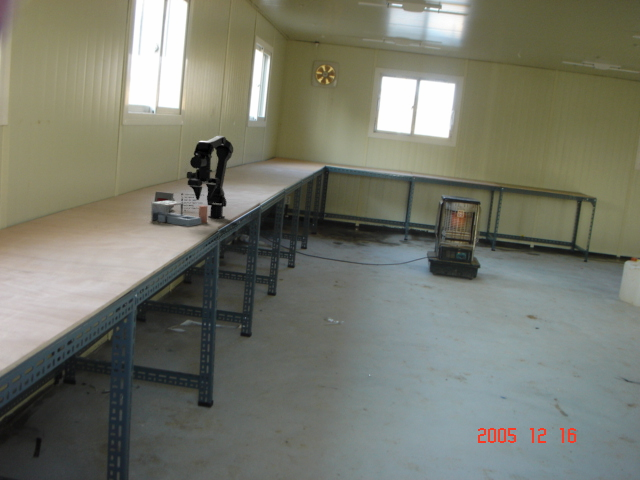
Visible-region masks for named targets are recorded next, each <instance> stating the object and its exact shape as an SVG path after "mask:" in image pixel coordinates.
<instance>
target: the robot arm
mask: <svg viewBox="0 0 640 480" xmlns="http://www.w3.org/2000/svg"><path fill="white" fill-rule="evenodd" d="M214 151H215V154H216V157H217V164H216V168H215V174H214V177H213V176H212V177H211V173H213V169H211V167H212V166H211V164H212V158H213V152H214ZM233 153H234V147H233V144H232V143H231V141H229V140H227V138H226V136H224V135H214V137H213V138H210V139H208V140H199V141H197V143H196V146H195V149H194V152H193V157H191V159H190V160H189V163H190V166H191V168H193V169H196V170H195V172H193V171H187V172H186V179H188V180H187V186H189V187H190V188H191V189H192V190H193V194H195V195H194V197H195V200H196V201H200V197H201V195H202V190H203V186H202V185H204V184H205V186H206V187H207V195H206V201H207V202H206V203H207V206H210V214H209V215H207V218H212V219H223V218H226V216H224V215H223V214H224V212H223V211H224V210H223V209H224V207H225V208H226V207H227V199H226V197H225V191H224V189H223V187H224V181H225V177H226V176H225V174H226V171H227V165H228V161H229V160H230V159H231V158H232V155H233Z"/></svg>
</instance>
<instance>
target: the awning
mask: <svg viewBox="0 0 640 480" xmlns="http://www.w3.org/2000/svg"><path fill="white" fill-rule="evenodd" d="M182 202H183V201H176V200H175V201H169V200H167V201H159V202H154V201H152V202H151V206H150V208H151V210H150V220H151V221H158V215H162V214H165V222H164V224H168V223H167V214H168V213H170V211H169V206H174V207H175V206H180V214H182V215H184V214H183V212H184V202H183V203H182Z"/></svg>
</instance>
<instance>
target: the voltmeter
mask: <svg viewBox="0 0 640 480" xmlns="http://www.w3.org/2000/svg"><path fill="white" fill-rule="evenodd" d="M180 194H181V201H180V202H182V203H183V212H186V211H187V209H188V210H189V207H192V210H195V209H197V210H198V207H196V208H195V207H193V205H196V202H195V201H197V199H195V193H193V194H192V193H190V194H188V193H186V196H187V198H186V199H185V198H184V197H183V196H184V193H180ZM174 196H175V195H174V192H165V191H155V195H154V201H153V202H159V201H167V200H169V201H176V200H175V197H174ZM202 196H205V194H202ZM188 198H189V199H188ZM190 198H191V199H190ZM183 201H184V202H183ZM185 201H187V202H185ZM188 201H190V202H188ZM191 201H192V202H191ZM186 204H188V207H186ZM190 204H191V205H190ZM199 204H201V205H202V204H203V202H199ZM174 207H175V205H174V206H169V213H172V209H173V208H174Z"/></svg>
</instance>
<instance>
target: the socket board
mask: <svg viewBox="0 0 640 480" xmlns="http://www.w3.org/2000/svg"><path fill="white" fill-rule="evenodd" d="M157 221H158V222H161V223H165V214H162V215H158V220H157ZM166 224H173V225H178V226H184V227H193V226H196V225H201V224H202V223H201V218H200V217H199V216H194V215H186V214H183V215H182V214H181V213H174V212H169V213H168V214H167V223H166Z"/></svg>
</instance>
